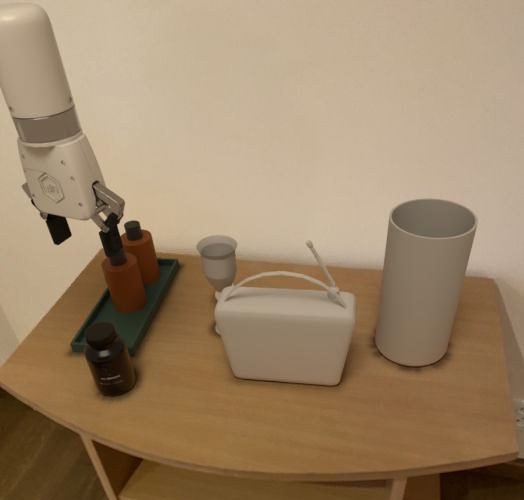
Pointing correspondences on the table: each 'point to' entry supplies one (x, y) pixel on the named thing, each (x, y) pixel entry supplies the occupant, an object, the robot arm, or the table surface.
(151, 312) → the tray
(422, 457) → the table surface
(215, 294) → the lidless jar
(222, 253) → the chalice
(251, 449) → the table surface
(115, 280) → the amber bottle middle
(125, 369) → the supplement bottle
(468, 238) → the cylinder vase
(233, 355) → the radio
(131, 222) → the amber bottle far
